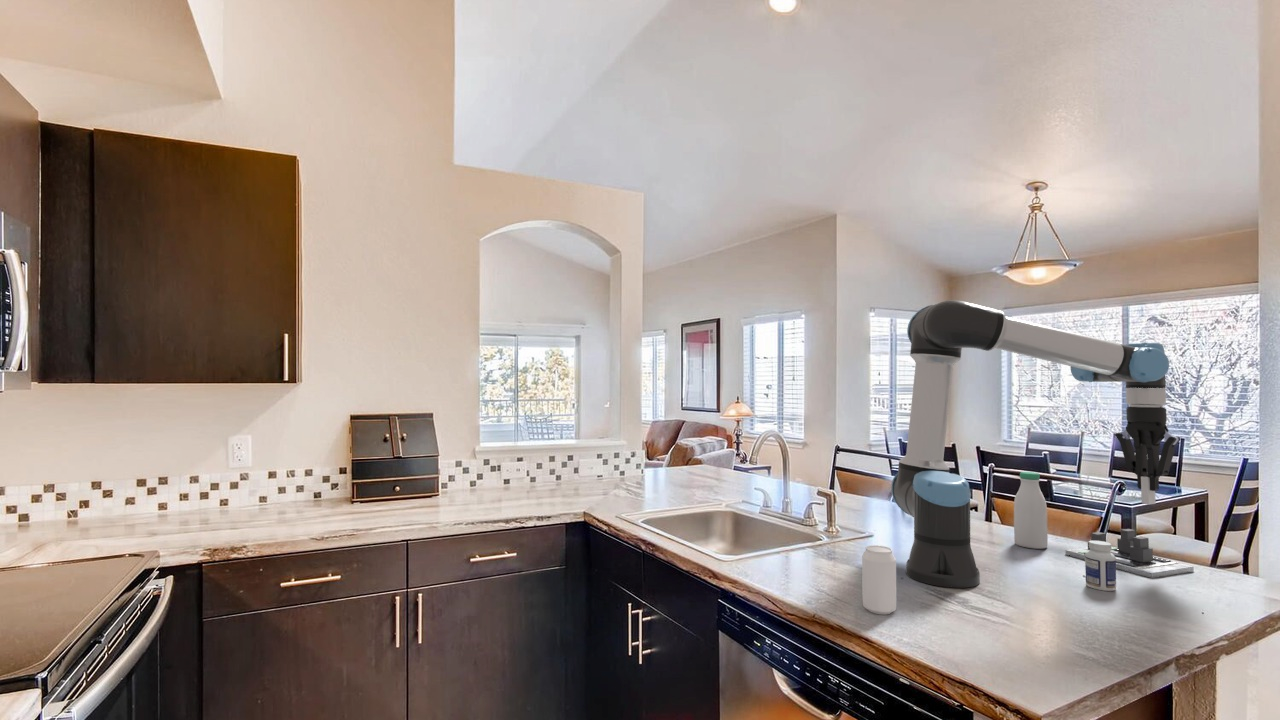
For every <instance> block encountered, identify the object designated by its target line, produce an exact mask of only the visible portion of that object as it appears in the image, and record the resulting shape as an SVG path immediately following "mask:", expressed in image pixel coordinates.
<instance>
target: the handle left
mask: <svg viewBox="0 0 1280 720" xmlns="http://www.w3.org/2000/svg"><path fill="white" fill-rule="evenodd" d="M1090 541H1104V542H1107V533H1104V532H1100V531H1098V532H1091V533H1090ZM1087 547H1088V550H1090V548H1089V541H1087Z"/></svg>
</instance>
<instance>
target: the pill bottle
mask: <svg viewBox="0 0 1280 720" xmlns="http://www.w3.org/2000/svg"><path fill="white" fill-rule="evenodd" d="M1088 542H1089V548H1090V550H1088V551H1086V553H1085V560H1084V562H1085V565H1084V567H1085V568H1084V569H1085V570H1084V571H1085V585H1086V586H1087V587H1089V588H1091V589H1093V590H1098V591H1104V592H1105V591H1106V592H1112V591H1115V590H1116V589H1117V569H1116V558H1115V556H1114V555H1113V554H1112V553H1110V551H1111V550H1112V548H1111V547H1112V543H1110V542H1108V541H1106V542H1104V541H1091V540H1089V541H1088Z"/></svg>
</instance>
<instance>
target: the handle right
mask: <svg viewBox="0 0 1280 720" xmlns="http://www.w3.org/2000/svg"><path fill="white" fill-rule="evenodd" d="M1133 537H1137V536H1136V529H1132V528H1121V529H1120V537H1119V538H1116V540H1117V544H1116V545H1117V548H1118V549H1119V551H1123V552H1127V553H1130V548H1129V547H1130V546H1133Z"/></svg>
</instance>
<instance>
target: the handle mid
mask: <svg viewBox="0 0 1280 720" xmlns="http://www.w3.org/2000/svg"><path fill="white" fill-rule="evenodd" d="M1149 542H1150V541H1149V537H1146V536H1136V537H1133V546H1130V547H1129V548H1130V559H1132V560H1136V561H1140V562H1149V561H1153V556H1154V553H1153V551H1154V550H1153V549H1154V548H1151V547H1149V545H1150V543H1149Z"/></svg>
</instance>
